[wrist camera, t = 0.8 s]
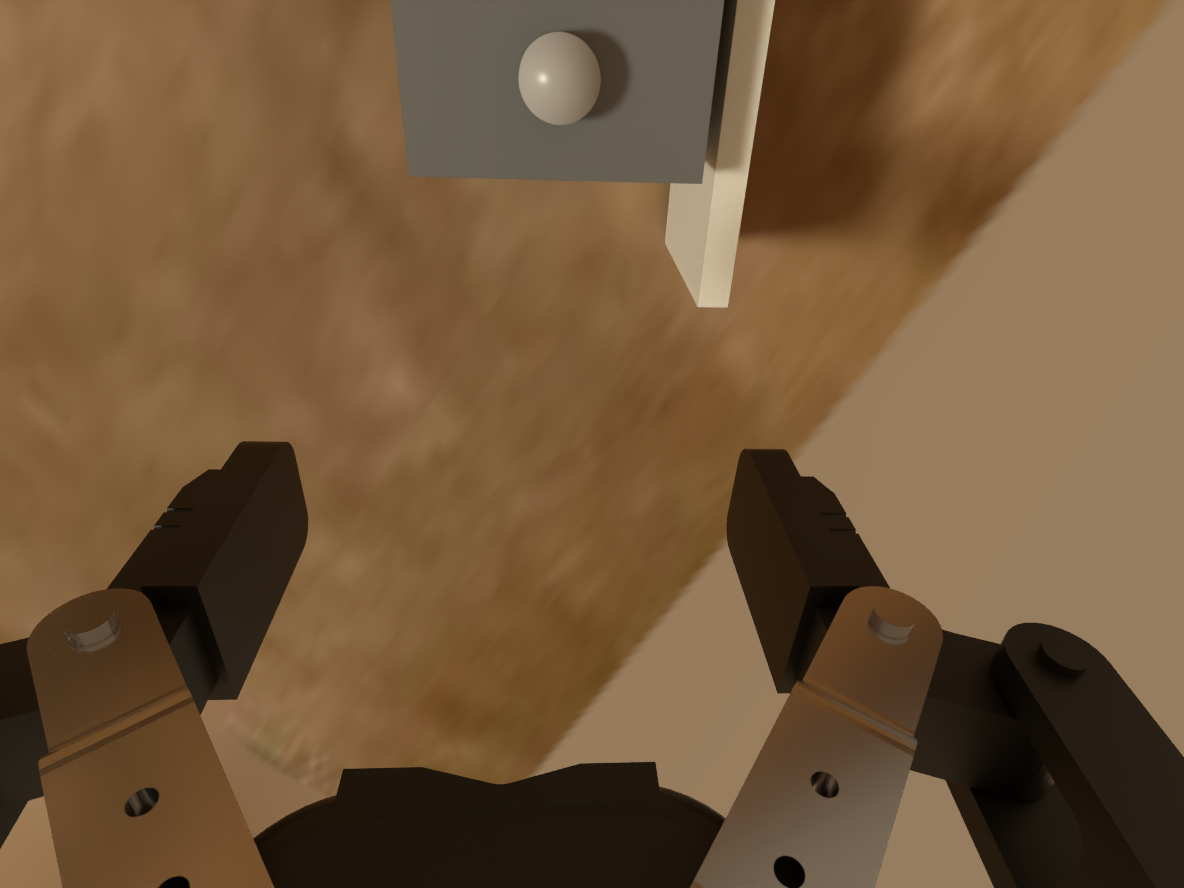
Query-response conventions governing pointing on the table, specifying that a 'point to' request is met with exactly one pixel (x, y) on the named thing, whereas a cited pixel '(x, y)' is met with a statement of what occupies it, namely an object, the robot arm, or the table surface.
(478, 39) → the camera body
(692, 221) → the side door
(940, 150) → the table surface
